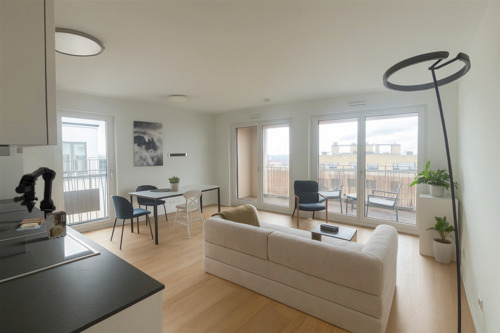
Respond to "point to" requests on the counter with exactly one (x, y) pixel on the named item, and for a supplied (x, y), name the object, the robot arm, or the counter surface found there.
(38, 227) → the mat
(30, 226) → the tile
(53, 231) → the coffee box
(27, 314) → the counter surface
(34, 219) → the plate
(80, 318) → the counter surface
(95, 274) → the counter surface
